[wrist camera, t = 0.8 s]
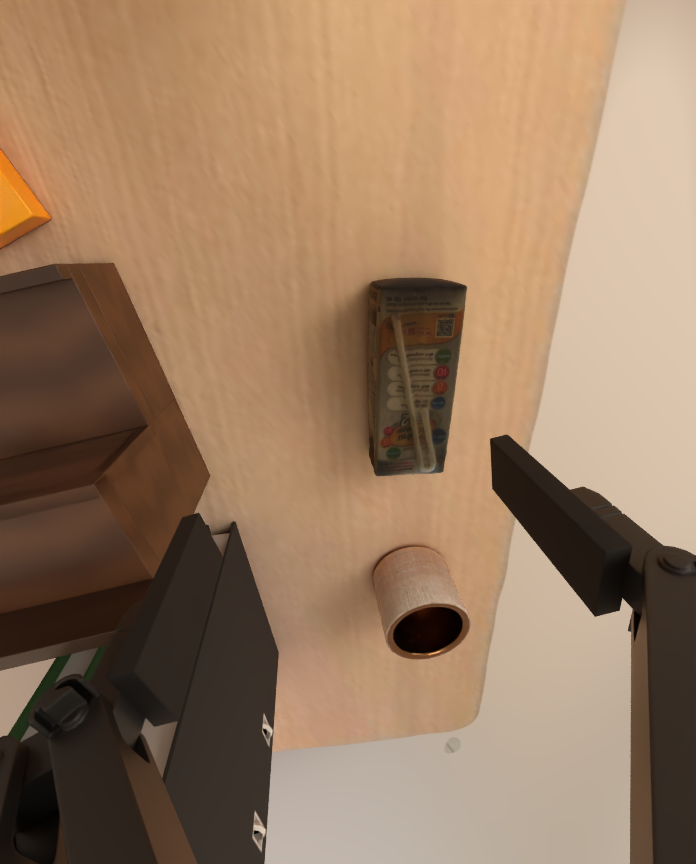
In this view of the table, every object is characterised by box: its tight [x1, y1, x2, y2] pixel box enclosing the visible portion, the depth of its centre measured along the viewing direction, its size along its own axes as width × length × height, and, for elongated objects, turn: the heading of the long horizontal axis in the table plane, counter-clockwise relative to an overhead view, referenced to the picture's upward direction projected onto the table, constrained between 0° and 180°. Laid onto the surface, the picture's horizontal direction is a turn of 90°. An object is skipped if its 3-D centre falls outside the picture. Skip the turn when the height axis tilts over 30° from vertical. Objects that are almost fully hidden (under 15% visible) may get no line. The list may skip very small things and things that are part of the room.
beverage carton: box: [368, 278, 467, 476], centre depth 36 cm, size 8×19×7 cm, turn 1°
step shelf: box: [0, 263, 210, 671], centre depth 27 cm, size 23×16×20 cm
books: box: [8, 522, 279, 864], centre depth 36 cm, size 27×15×32 cm, turn 5°
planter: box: [373, 546, 471, 659], centre depth 48 cm, size 11×11×10 cm
